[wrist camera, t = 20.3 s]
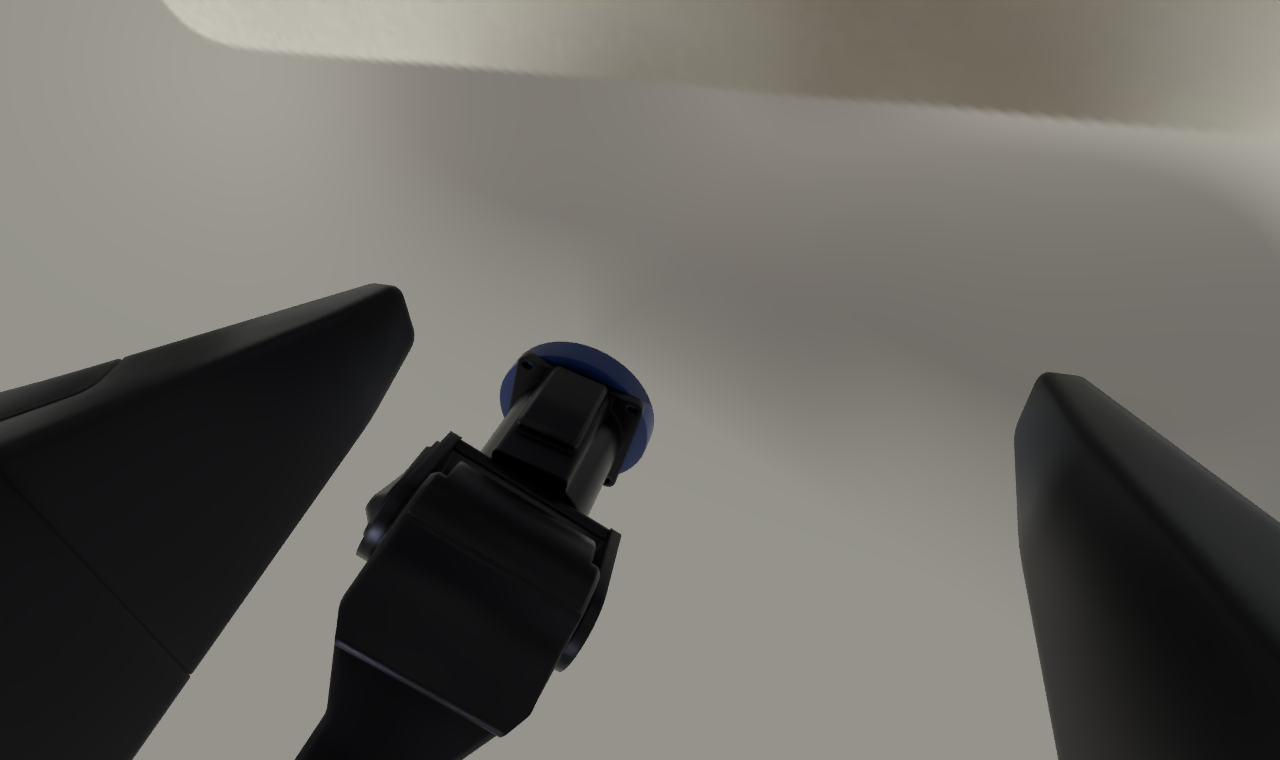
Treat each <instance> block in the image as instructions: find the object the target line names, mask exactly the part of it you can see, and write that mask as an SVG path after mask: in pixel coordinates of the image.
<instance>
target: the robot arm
mask: <svg viewBox="0 0 1280 760" xmlns="http://www.w3.org/2000/svg"><path fill="white" fill-rule="evenodd" d="M413 342H414V329H413V326H412V322H411V319H410V316H409V312H408V309H407V306H406V303H405V300H404V296H403V294H402V292H401V291H400V290H399V289H398V288H397V287H395V286H390V285H383V284H368V285H365V286H362V287H358V288H355V289H352V290H348V291H345V292H342V293H338V294H335V295H331V296H328V297H325V298H322V299H318V300H315V301H311V302H308V303H305V304H301V305H298V306H294V307H291V308H288V309H285V310H281V311H278V312H274V313H271V314H268V315H264V316H261V317H258V318H254V319H251V320H247V321H244V322H241V323H237V324H234V325H231V326H227V327H224V328H221V329H217V330H214V331H211V332H207V333H204V334H200V335H197V336H194V337H190V338H187V339H184V340H181V341H177V342H174V343H170V344H167V345H164V346H160V347H157V348H153V349H150V350H147V351H143V352H140V353H137V354H133V355H130V356H127V357H125V358H123V359H122V360H121V359H116V360H113V361H110V362H106V363H103V364H99V365H96V366H93V367H90V368H86V369H82V370H79V371H76V372H72V373H68V374H65V375H62V376H58V377H55V378H51V379H48V380H44V381H41V382H37V383H33V384H29V385H26V386H22V387H19V388H15V389H11V390H7V391H4V392H0V760H132V759H133V758H134V756H135V755H136V753H137V752H138V751H139V749H140V748H141V746H142V745H143V744H144V742H145V741H146V739H147V738H148V737H149V735H150V734H151V732H152V731H153V729H154V728H155V727H156V725H157V724H158V722H159V721H160V720H161V718H162V717H163V715H164V714H165V712H166V711H167V710H168V708H169V707H170V705H171V704H172V702H173V701H174V699H175V698H176V697H177V695H178V694H179V693H180V691H181V690H182V688H183V687H184V685H185V684H186V682H187V681H188V680H189V678H190V675H189V674H192V673H193V672H194V670H195V669H196V667H197V666H198V664H199V663H200V662H201V660H202V659H203V658H204V656H205V655H206V653H207V652H208V650H209V649H210V647H211V646H212V645H213V643H214V642H215V641H216V639H217V638H218V636H219V635H220V633H221V632H222V631H223V629H224V628H225V626H226V625H227V623H228V622H229V621H230V619H231V618H232V616H233V615H234V613H235V612H236V611H237V609H238V608H239V606H240V605H241V604H242V602H243V601H244V599H245V598H246V596H247V595H248V593H249V592H250V591H251V589H252V588H253V587H254V585H255V584H256V582H257V581H258V579H259V578H260V577H261V575H262V574H263V572H264V571H265V570H266V568H267V567H268V565H269V564H270V562H271V561H272V560H273V558H274V557H275V555H276V554H277V552H278V551H279V549H280V548H281V547H282V545H283V544H284V543H285V541H286V540H287V538H288V537H289V535H290V534H291V533H292V531H293V530H294V528H295V527H296V525H297V524H298V523H299V521H300V520H301V518H302V517H303V516H304V514H305V513H306V511H307V510H308V509H309V507H310V506H311V504H312V503H313V501H314V500H315V499H316V497H317V496H318V494H319V493H320V491H321V490H322V489H323V487H324V486H325V484H326V483H327V482H328V480H329V479H330V477H331V476H332V474H333V473H334V472H335V470H336V469H337V467H338V466H339V465H340V463H341V462H342V460H343V459H344V457H345V456H346V455H347V453H348V452H349V450H350V449H351V447H352V446H353V445H354V443H355V442H356V440H357V439H358V438H359V436H360V435H361V433H362V432H363V430H364V429H365V427H366V426H367V424H368V423H369V421H370V420H371V418H372V416H373V415H374V413H375V412H376V410H377V408H378V406H379V405H380V403H381V401H382V399H383V397H384V396H385V394H386V392H387V390H388V389H389V387H390V385H391V383H392V381H393V379H394V378H395V376H396V374H397V373H398V371H399V369H400V367H401V365H402V364H403V361H404V360H405V358H406V356H407V355H408V352H409V351H410V349H411V347H412V345H413ZM527 362H529V363H531V365H530V364H528V363H527ZM631 406H633V407H635V408H636V409H633V408H631ZM644 407H645V406H644V403H643V402H642V401H641V400H640V399H638V398H636V397H634V396H632V395H629V394H627V393H624V392H622V391H620V390H617V389H615V388H613V387H610V386H608V385H606V384H603V383H601V382H599V381H596V380H594V379H592V378H589V377H587V376H585V375H582V374H580V373H577V372H575V371H573V370H570V369H568V368H566V367H563V366H561V365H559V364H556V363H554V362H552V361H549V360H547V359H545V358H542V357H540V356H538V355H535V354H533V353H529V352H527V353H524V354H523V355H522V356H521V357H520V358H519V360H518V363H517V369H516V374H515V380H514V385H513V391H512V396H511V401H510V407H509V412H508V414H507V415H506V417H505V418H504V420H503V421H502V422H501V424H500V425H499V427H498V428H497V429H496V431H495V432H494V433H493V435H492V436H491V438H490V439H489V440H488V442H487V443H486V445H485V446H484V447H483V449H482V450H481V451H479V450H477V449H476V448H474V447H472V446H471V445H469V444H467V443H466V442H464V441H462V440H461V439H462V437H460V436H458V435H457V434H455V433H453V432H452V431H451V432H450V433H449V434H448V435H447V436H446V437H445V438H444V439H443V440H442V441H441V442H439V441H437V442H435V443H434V444H433V445H432V446H431V447H426V448H425V449H424V450H423V451H422V452H421V454H420V455H419V456H418V457H417V458H416V460H415V461H414V462H413V463H412V464H411V466H410V467H409V468H408V469H407V470H406V471H405V472H404V473H403V474H402V475H401V476H399V477H398V478H397V479H396V480H394V481H393V482H391V483H390V484H389V485H387V486H386V487H385V488H383V489H382V490H381V491H379V492H378V493H377V494H375V495H374V496H373V498H372V499H371V500H370V501H369V503H368V504H367V506H366V515H367V520H368V525H367V527H366V529H365V531H364V534H363V535H364V537H363V539H362V541H361V543H360V545H359V547H358V549H357V553H356V555H357V556H359V557H361V558H363V559H364V560H366V561H367V563H366V564H365V566H364V567H363V569H362V570H361V572H360V573H359V574H358V576H357V577H356V579H355V580H354V582H353V583H352V585H351V586H350V587H349V589H348V590H347V592H346V593H345V595H344V596H343V598H342V600H341V602H340V606H339V611H338V619H337V628H336V634H335V645H334V654H333V663H332V671H331V679H330V688H329V696H328V706H327V710H326V713H325V715H324V716H323V718H322V720H321V721H320V723H319V724H318V726H317V727H316V728H315V730H314V731H313V733H312V734H311V736H310V737H309V739H308V741H307V742H306V744H305V745H304V746H303V748H302V750H301V751H300V753H299V754H298V756H297V757H296V759H295V760H462V759H464V758H465V757H467V756H468V755H469V754H471V753H472V752H474V751H475V750H477V749H478V748H479V747H481V746H482V745H484V744H485V743H487V742H488V741H489V740H491V739H492V738H494V737H495V736H498V737H503V736H505V735H506V734H507V733H509V732H510V731H511V730H513V729H514V728H515V727H516V726H517V725H519V724H520V723H521V722H522V721H524V720H525V719H526V718H527V717H528V716H529V715H530V714H531V712H532V710H533V708H534V706H535V704H536V702H537V700H538V698H539V696H540V694H541V692H542V691H543V689H544V687H545V685H546V683H547V681H548V680H549V678H550V676H551V674H552V672H553V670H554V669H555V670H556V671H559V672H561V671H563V670H565V669H566V668H567V667H568V666H569V664H570V663H571V662H572V661H573V660H574V658H575V657H576V655H577V654H578V652H579V651H580V650H581V648H582V646H583V645H584V643H585V641H586V640H587V638H588V636H589V634H590V632H591V630H592V629H593V627H594V625H595V622H596V620H597V618H598V616H599V614H600V611H601V609H602V606H603V604H604V601H605V597H606V594H607V590H608V586H609V582H610V578H611V574H612V570H613V566H614V562H615V558H616V554H617V550H618V546H619V542H620V539H621V534H620V533H618V532H616V531H615V530H613V529H607V528H606V527H604V526H603V525H601V524H599V523H597V522H596V521H594V520H593V519H591V518H589V517H588V515H589V513H590V511H591V509H592V506H593V504H594V502H595V500H596V498H597V496H598V494H599V492H600V490H601V487H602V485H604V486H609V487H611V486H613V485H614V484H615V482H616V479H617V477H618V475H619V472H620V470H621V467H622V465H623V462H624V459H625V457H626V454H627V452H628V449H629V447H630V444H631V442H632V439H633V437H634V434H635V431H636V429H637V426H638V424H639V421H640V419H641V416H642V414H643V411H644ZM1014 450H1015V472H1016V495H1017V516H1018V535H1019V548H1020V555H1021V561H1022V567H1023V572H1024V578H1025V583H1026V588H1027V593H1028V599H1029V604H1030V610H1031V615H1032V621H1033V626H1034V631H1035V637H1036V642H1037V647H1038V653H1039V658H1040V664H1041V669H1042V675H1043V680H1044V685H1045V691H1046V696H1047V701H1048V707H1049V712H1050V717H1051V723H1052V728H1053V734H1054V739H1055V744H1056V749H1057V755H1058V760H1280V523H1279V522H1278V521H1277V520H1275V519H1274V518H1273V517H1271V516H1270V515H1269V514H1267V513H1266V512H1264V511H1263V510H1262V509H1260V508H1259V507H1258V506H1256V505H1255V504H1254V503H1252V502H1251V501H1250V500H1248V499H1247V498H1246V497H1244V496H1243V495H1242V494H1240V493H1239V492H1237V491H1236V490H1235V489H1233V488H1232V487H1231V486H1229V485H1228V484H1227V483H1225V482H1224V481H1223V480H1221V479H1220V478H1219V477H1217V476H1216V475H1214V474H1213V473H1211V472H1210V471H1209V470H1208V469H1206V468H1205V467H1204V466H1202V465H1201V464H1200V463H1198V462H1197V461H1196V460H1194V459H1193V458H1191V457H1190V456H1189V455H1187V454H1186V453H1185V452H1183V451H1182V450H1181V449H1179V448H1178V447H1177V446H1175V445H1174V444H1172V443H1171V442H1170V441H1168V440H1167V439H1166V438H1164V437H1163V436H1162V435H1160V434H1159V433H1158V432H1156V431H1155V430H1154V429H1152V428H1151V427H1149V426H1148V425H1147V424H1145V423H1144V422H1143V421H1141V420H1140V419H1139V418H1137V417H1136V416H1135V415H1133V414H1132V413H1131V412H1129V411H1128V410H1127V409H1125V408H1124V407H1122V406H1121V405H1120V404H1118V403H1117V402H1116V401H1114V400H1113V399H1112V398H1110V397H1109V396H1108V395H1106V394H1105V393H1104V392H1102V391H1101V390H1100V389H1098V388H1097V387H1095V386H1094V385H1093V384H1091V383H1090V382H1089V381H1087V380H1086V379H1084V378H1082V377H1080V376H1075V375H1067V374H1059V373H1050V372H1046V373H1044V374H1042V375H1041V376H1040V377H1039V378H1038V379H1037V380H1036V382H1035V384H1034V387H1033V389H1032V391H1031V393H1030V396H1029V398H1028V400H1027V402H1026V405H1025V407H1024V409H1023V411H1022V414H1021V416H1020V418H1019V421H1018V423H1017V426H1016V430H1015V436H1014ZM607 477H608V478H607Z"/></svg>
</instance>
